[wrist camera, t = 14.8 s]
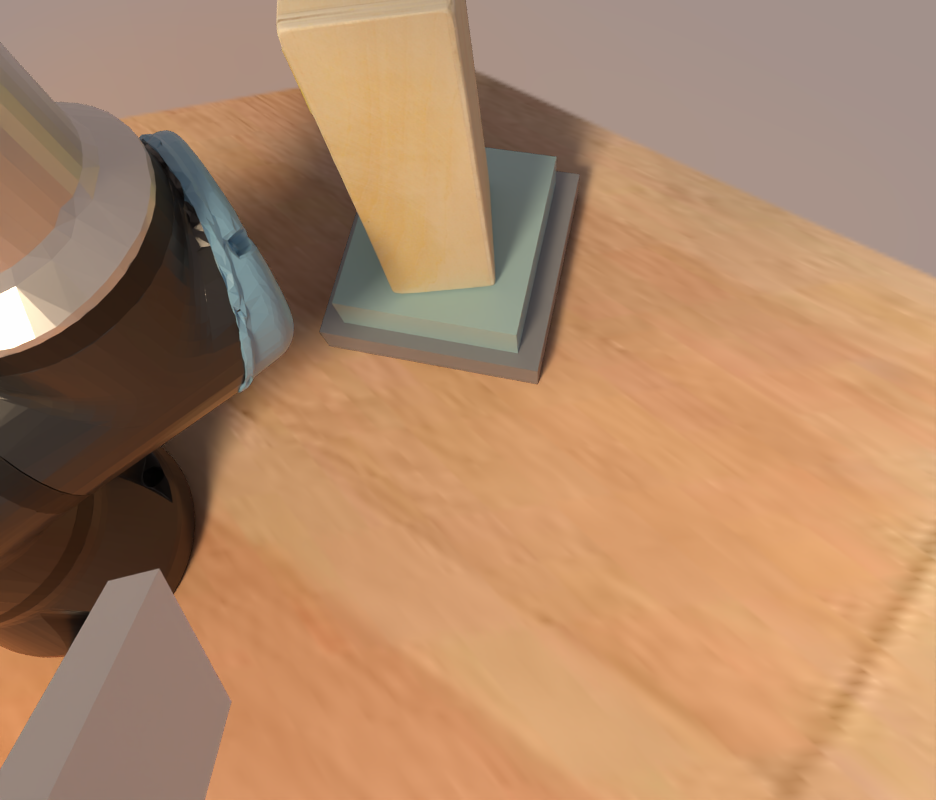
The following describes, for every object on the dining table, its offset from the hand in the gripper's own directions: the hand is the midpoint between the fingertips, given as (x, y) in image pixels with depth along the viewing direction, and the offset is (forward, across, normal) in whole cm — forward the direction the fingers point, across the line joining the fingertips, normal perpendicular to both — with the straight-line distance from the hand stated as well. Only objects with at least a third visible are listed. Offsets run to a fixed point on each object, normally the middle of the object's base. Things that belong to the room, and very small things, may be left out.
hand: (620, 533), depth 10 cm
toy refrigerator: (+38, -2, -4) cm, 38 cm away
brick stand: (+42, -1, -7) cm, 43 cm away
